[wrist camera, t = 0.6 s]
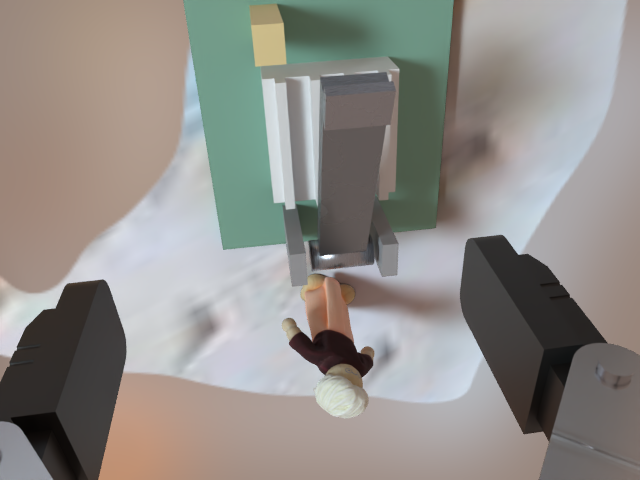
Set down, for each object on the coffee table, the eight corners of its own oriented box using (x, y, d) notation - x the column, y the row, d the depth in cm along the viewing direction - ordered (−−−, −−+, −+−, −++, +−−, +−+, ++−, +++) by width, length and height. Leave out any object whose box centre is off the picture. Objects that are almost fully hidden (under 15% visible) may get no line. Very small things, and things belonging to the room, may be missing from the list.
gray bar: (307, 63, 24) (314, 97, 23) (397, 56, 25) (407, 89, 24) (308, 251, 37) (312, 279, 36) (367, 244, 38) (373, 272, 36)
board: (181, -21, 32) (167, -2, 26) (451, -38, 33) (500, -23, 27) (223, 242, 42) (220, 304, 35) (431, 221, 43) (465, 277, 37)
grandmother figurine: (373, 280, 45) (415, 399, 35) (356, 316, 47) (390, 440, 36) (283, 260, 43) (297, 380, 32) (268, 298, 45) (278, 424, 34)
